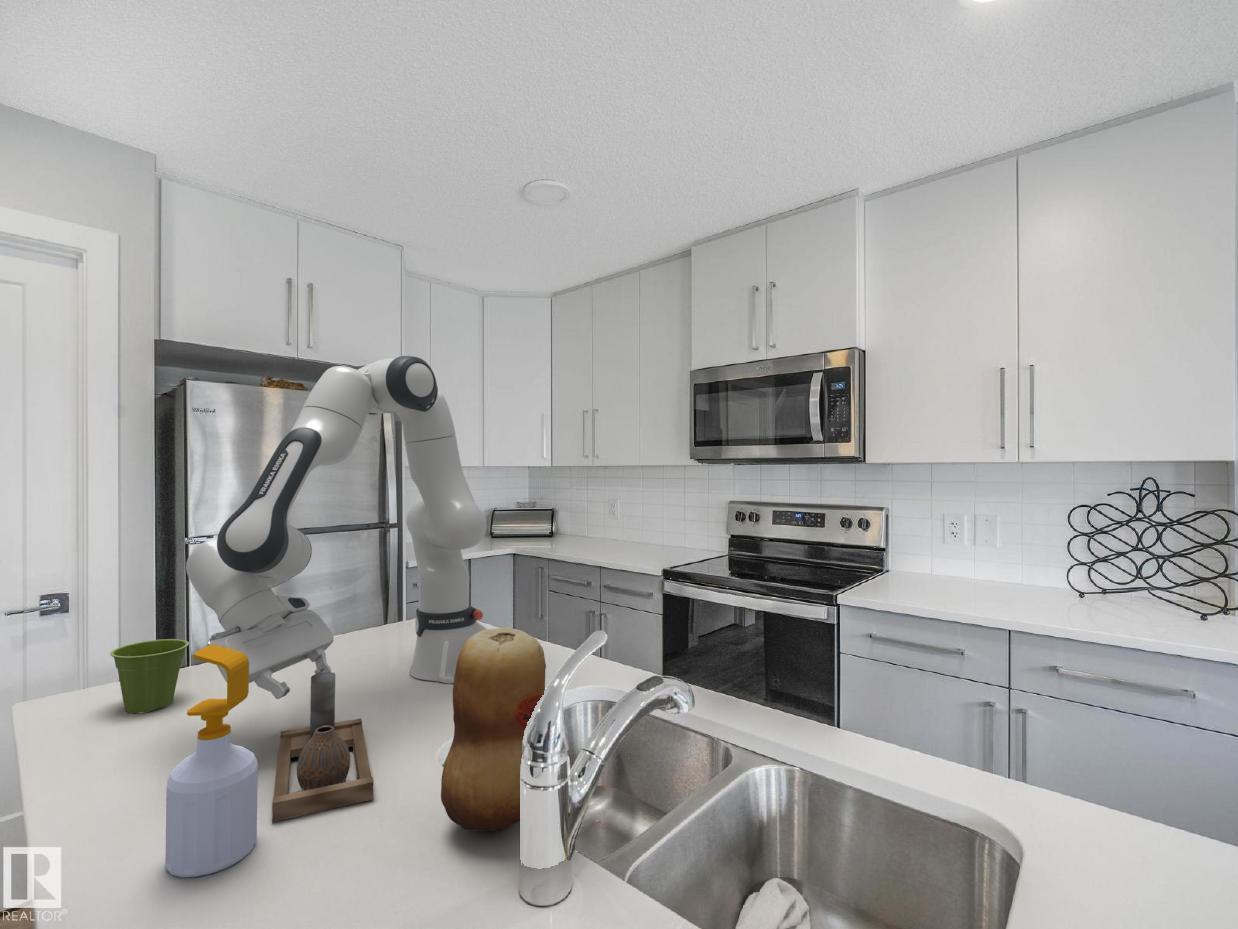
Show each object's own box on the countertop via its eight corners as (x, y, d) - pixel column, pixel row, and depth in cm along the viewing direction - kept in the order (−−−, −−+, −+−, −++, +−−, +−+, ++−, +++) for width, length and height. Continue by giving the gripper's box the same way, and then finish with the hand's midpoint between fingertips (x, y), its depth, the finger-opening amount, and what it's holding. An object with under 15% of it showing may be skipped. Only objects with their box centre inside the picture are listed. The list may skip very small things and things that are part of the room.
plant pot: (190, 708, 114) (191, 649, 114) (108, 725, 106) (109, 661, 106) (185, 690, 123) (186, 634, 123) (109, 704, 115) (110, 645, 115)
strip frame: (361, 732, 104) (362, 664, 104) (373, 799, 83) (374, 714, 84) (280, 746, 99) (281, 674, 99) (272, 822, 78) (273, 731, 78)
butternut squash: (497, 871, 69) (500, 655, 69) (418, 833, 76) (421, 636, 76) (568, 813, 81) (570, 628, 81) (494, 784, 88) (496, 614, 88)
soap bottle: (195, 832, 76) (198, 638, 76) (270, 829, 77) (273, 637, 77) (145, 881, 67) (149, 661, 67) (231, 878, 68) (234, 660, 68)
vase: (359, 779, 89) (359, 720, 89) (332, 805, 82) (333, 741, 82) (315, 776, 90) (316, 717, 90) (285, 801, 83) (286, 738, 83)
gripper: (214, 624, 90) (267, 695, 88) (312, 596, 110) (357, 654, 108) (189, 651, 91) (241, 722, 89) (291, 618, 111) (336, 676, 109)
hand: (306, 684), depth 99 cm, fingers open, 8 cm apart
